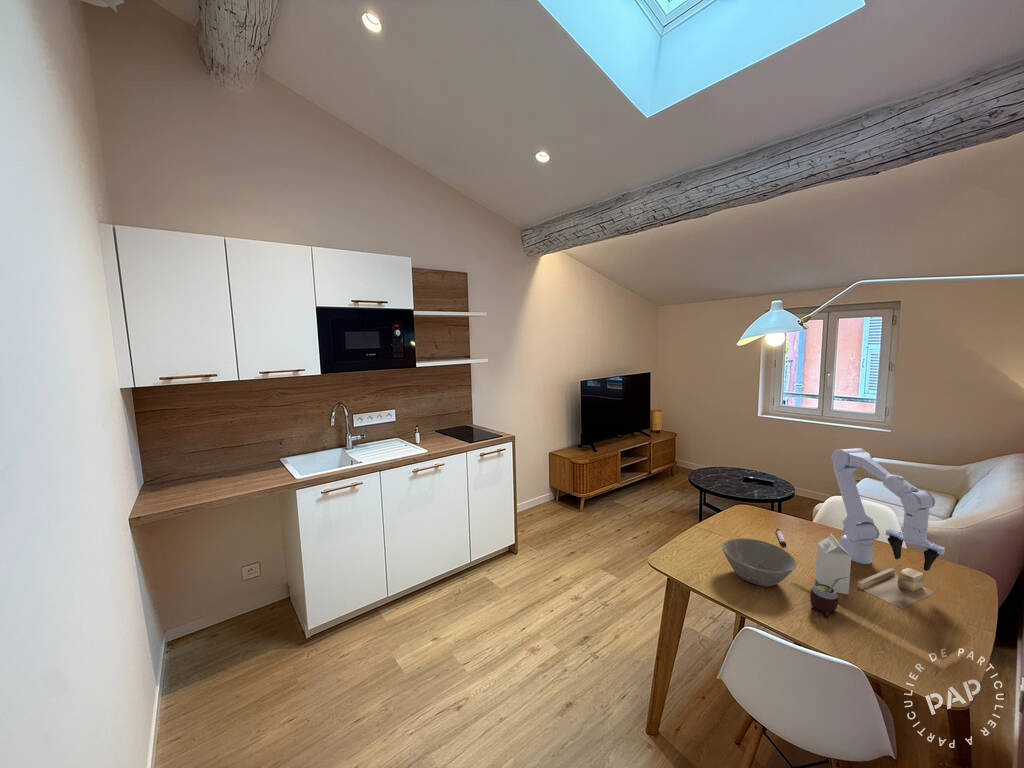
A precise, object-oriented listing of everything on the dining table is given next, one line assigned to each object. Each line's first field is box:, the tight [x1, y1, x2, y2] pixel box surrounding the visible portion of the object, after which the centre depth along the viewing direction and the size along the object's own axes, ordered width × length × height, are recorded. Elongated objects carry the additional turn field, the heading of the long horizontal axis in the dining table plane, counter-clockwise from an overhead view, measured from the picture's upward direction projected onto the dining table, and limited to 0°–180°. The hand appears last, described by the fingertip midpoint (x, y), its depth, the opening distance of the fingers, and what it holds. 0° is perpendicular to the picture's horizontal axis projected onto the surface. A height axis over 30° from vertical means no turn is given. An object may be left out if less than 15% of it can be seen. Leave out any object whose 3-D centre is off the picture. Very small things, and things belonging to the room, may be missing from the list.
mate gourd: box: [809, 577, 847, 619], centre depth 127 cm, size 8×8×15 cm
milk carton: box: [815, 533, 852, 595], centre depth 137 cm, size 7×7×19 cm
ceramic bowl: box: [721, 537, 797, 588], centre depth 145 cm, size 22×23×10 cm
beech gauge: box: [897, 567, 924, 592], centre depth 136 cm, size 4×6×5 cm, turn 112°
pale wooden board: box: [856, 567, 935, 610], centre depth 135 cm, size 12×20×4 cm, turn 112°
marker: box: [775, 528, 788, 547], centre depth 174 cm, size 15×2×2 cm, turn 155°
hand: (911, 564), depth 136 cm, fingers open, 7 cm apart
